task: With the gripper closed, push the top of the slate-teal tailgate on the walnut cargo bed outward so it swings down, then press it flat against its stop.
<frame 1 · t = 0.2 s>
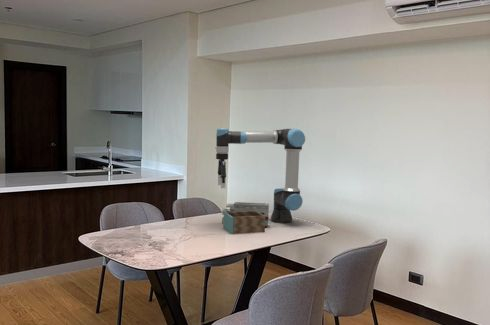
hand: (221, 186, 279), 27 cm above the table, tool pointing down, fingers open, 13 cm apart
tailgate: (228, 222, 271), point 6 cm above the table, hinge at 0.0°
grey rectangular block: (245, 226, 294), on the table
cargo bed: (245, 232, 276), on the table
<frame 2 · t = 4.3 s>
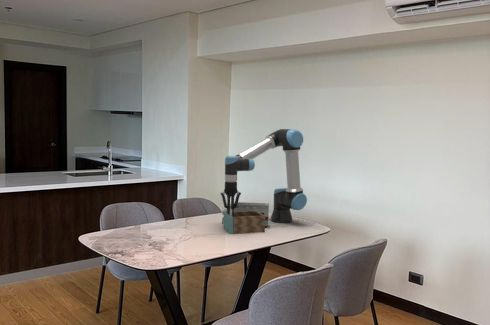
hand: (230, 219, 272), 9 cm above the table, tool pointing down, fingers closed
tailgate: (228, 222, 271), point 6 cm above the table, hinge at 1.2°, touching gripper
everything else where it was.
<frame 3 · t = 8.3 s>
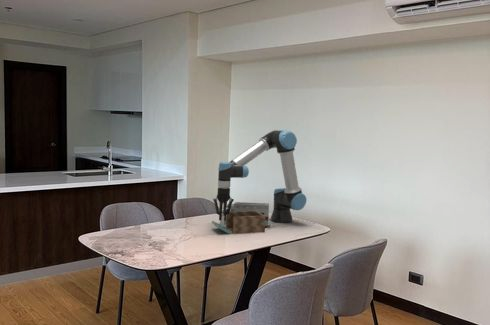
hand: (221, 225, 270), 5 cm above the table, tool pointing down, fingers closed
tailgate: (222, 228, 270), point 4 cm above the table, hinge at 59.8°, touching gripper
everything else where it was.
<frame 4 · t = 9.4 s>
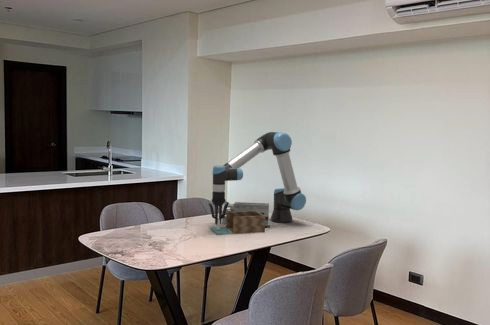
hand: (218, 229, 269), 3 cm above the table, tool pointing down, fingers closed
tailgate: (221, 231, 270), point 2 cm above the table, hinge at 82.4°, touching gripper
everything else where it was.
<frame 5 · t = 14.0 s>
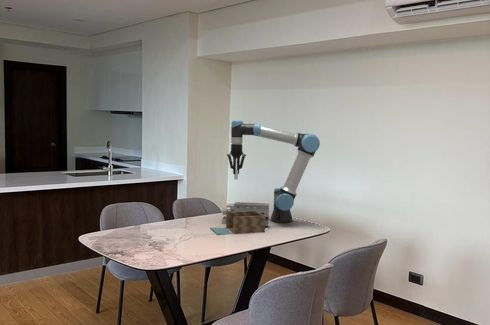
hand: (236, 179, 295), 30 cm above the table, tool pointing down, fingers closed
tailgate: (221, 231, 270), point 1 cm above the table, hinge at 85.3°
everything else where it was.
at the end: tailgate at +85° (first picture: +0°); grey rectangular block moved 0.3 cm from its start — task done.
